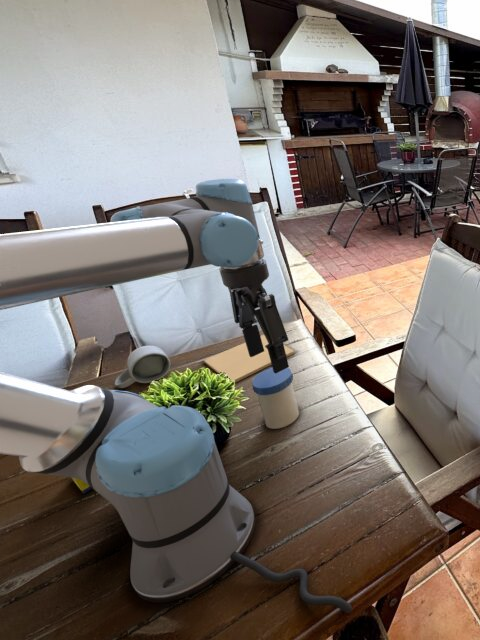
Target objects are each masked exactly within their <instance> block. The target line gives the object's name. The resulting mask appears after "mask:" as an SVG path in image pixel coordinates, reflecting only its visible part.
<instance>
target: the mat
mask: <svg viewBox="0 0 480 640" xmlns="http://www.w3.org/2000/svg"><path fill="white" fill-rule="evenodd" d="M260 337H261V340H262V344H263V348H264V352H262V353H260V354H258V355H255V356H253V357H250V356H249V353H248V349H247V346H246V342H245V341H244V342H243V343H241V344H238V345H236V346H233V347H231V348H229V349H227V350H225V351H222V352H220V353H217V354H215V355H213V356H211V357H208V358H206V359H204V360H203V363H204V364H205V365H207V366H208V367H209V368H211V369H212V370H213V371H214V372H216V373H217V374H218V373H220V372H225V373H226V374H227V376H228V378H230V379H232V380H235V383H237V382H239V381H241V380H243V379H245V378H248V377H249V376H252V375H253V374H256V373H258V372H260V371H261V370H264V369H266V368H268V367H269V366H272V364H271V360H270V357H269V353H268V349H267V348H266V347H265V346H266V345H267V344H268V341H267V339H266V337H265V335H264V334H261V335H260ZM283 345H284V349H285V353H286V357H287V358H288V357H290V356H292V355H294V354H295V350H294V349H292V348H290V347H288V346H287V345H285V344H283Z"/></svg>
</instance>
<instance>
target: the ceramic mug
mask: <svg viewBox="0 0 480 640" xmlns="http://www.w3.org/2000/svg"><path fill="white" fill-rule="evenodd" d="M126 365H127V369H125V370H124V371H123V372H121V373H120V374H119V375H118V376H117V378H115V381H114V385H115V386H116V387H117V388H119V389H125V388H128V387H130V386H131V385H133V384H134V383H136V382H137V383H140V384H151V383H152V382H151V381H153V380H157V381H159V380H161V379H162V378H165V376H166V375H167V374H168V373H169V371H170V369H171V359H170V358H169V356H168V355H167V354H166V353H165V352H164V350H162V348H160V347H159V346H155V345H142V346H140V347H137V348H136V349H134V350H133V351H132V352H130V353H129V355H128V357H127V361H126ZM129 376H130V377H129ZM128 377H129V378H128Z"/></svg>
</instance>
